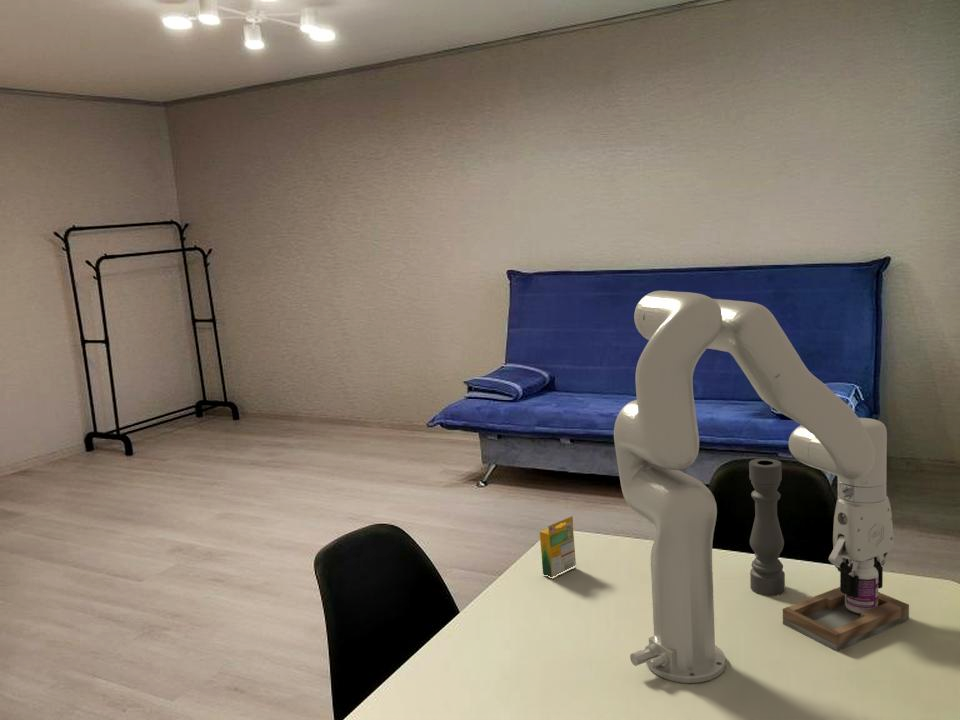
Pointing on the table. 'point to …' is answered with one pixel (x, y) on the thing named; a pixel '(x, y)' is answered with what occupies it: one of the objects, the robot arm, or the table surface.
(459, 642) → the table surface
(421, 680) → the table surface
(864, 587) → the pill bottle
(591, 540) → the table surface
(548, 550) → the crayon box
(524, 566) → the table surface
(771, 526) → the candle holder
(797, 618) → the brown wooden tray
